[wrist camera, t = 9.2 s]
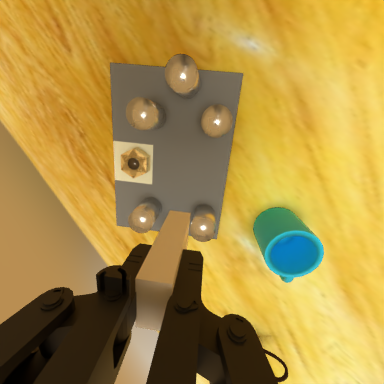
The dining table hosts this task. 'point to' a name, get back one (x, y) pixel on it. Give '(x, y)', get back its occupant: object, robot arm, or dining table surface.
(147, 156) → the nut
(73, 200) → the dining table surface
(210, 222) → the spacers
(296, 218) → the mug
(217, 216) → the mat
